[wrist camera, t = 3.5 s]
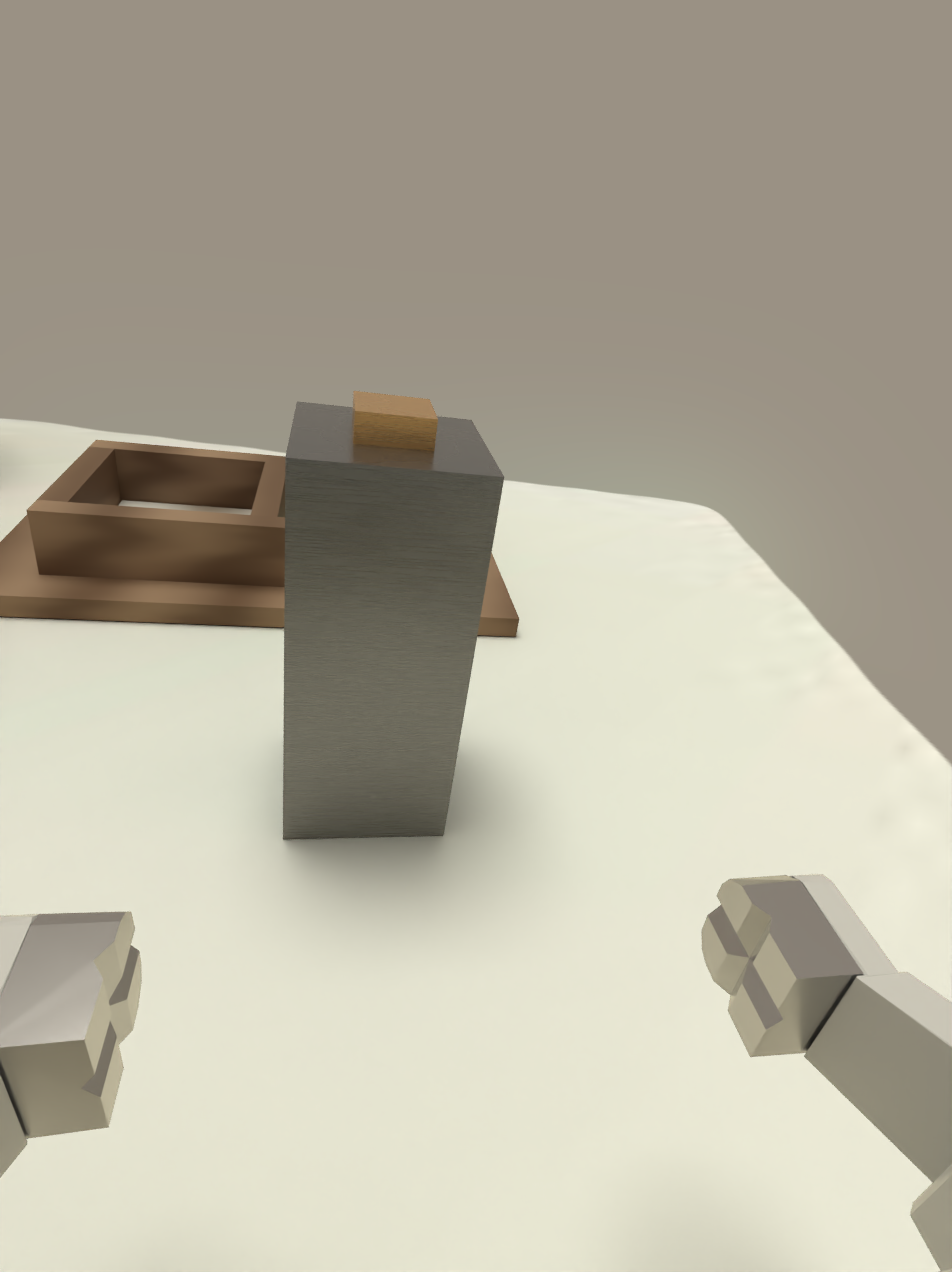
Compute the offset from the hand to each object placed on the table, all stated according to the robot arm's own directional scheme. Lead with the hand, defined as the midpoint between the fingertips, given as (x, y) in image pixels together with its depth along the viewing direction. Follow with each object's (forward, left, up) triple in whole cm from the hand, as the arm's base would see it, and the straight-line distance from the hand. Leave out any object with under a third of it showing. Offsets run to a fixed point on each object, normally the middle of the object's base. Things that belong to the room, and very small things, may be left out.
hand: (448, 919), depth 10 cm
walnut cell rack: (-5, +29, -9) cm, 31 cm away
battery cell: (0, +12, -9) cm, 15 cm away
